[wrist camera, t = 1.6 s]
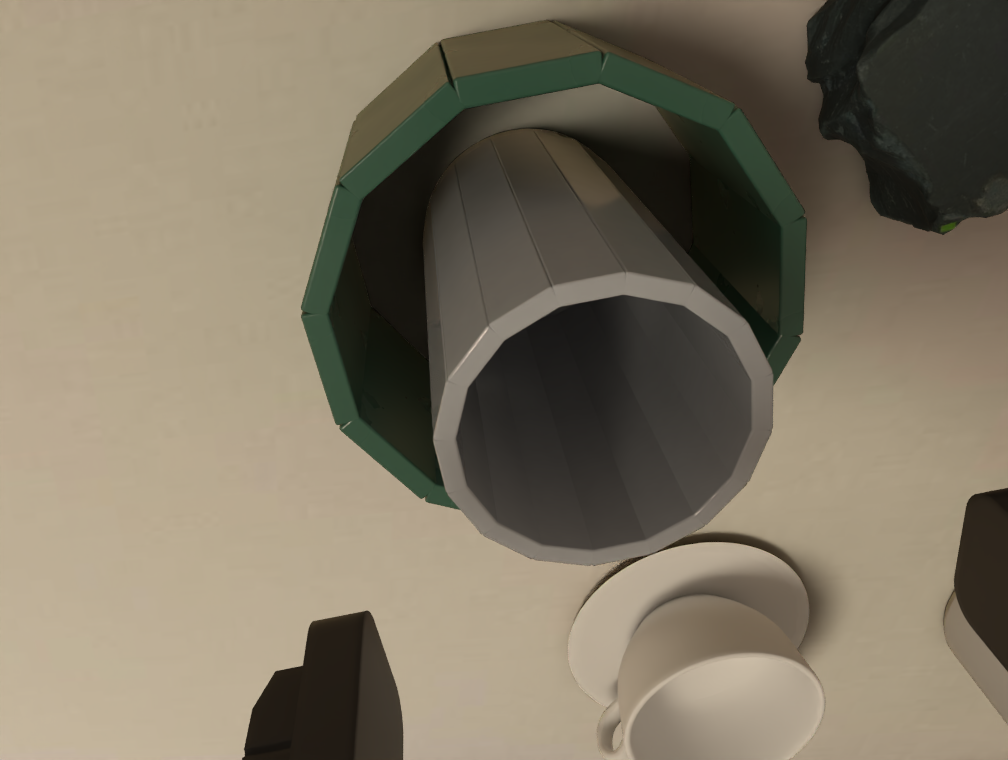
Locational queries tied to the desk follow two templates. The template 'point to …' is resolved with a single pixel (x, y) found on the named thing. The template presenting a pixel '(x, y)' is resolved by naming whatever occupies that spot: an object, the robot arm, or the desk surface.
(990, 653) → the cup
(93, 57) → the desk surface
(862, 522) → the desk surface
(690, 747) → the teacup
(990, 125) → the stone
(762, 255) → the bucket
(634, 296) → the steel cup
